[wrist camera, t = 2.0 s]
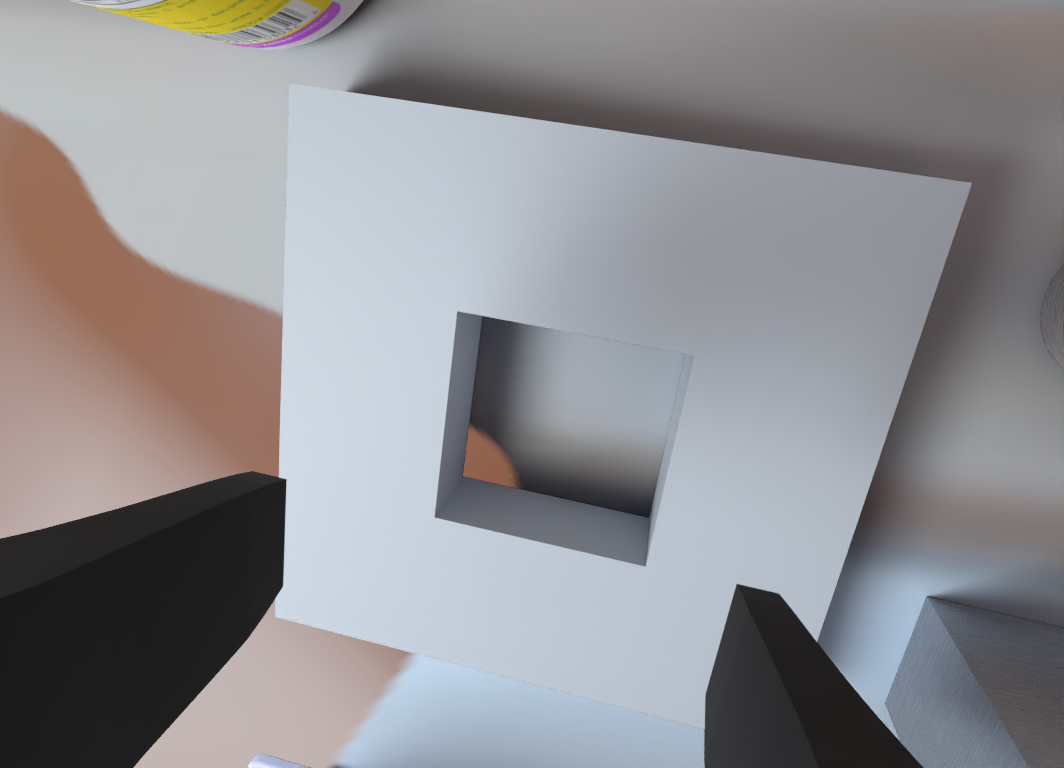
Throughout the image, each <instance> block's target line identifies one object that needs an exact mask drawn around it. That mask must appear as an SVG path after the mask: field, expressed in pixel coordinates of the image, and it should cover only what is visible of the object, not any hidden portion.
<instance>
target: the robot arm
mask: <svg viewBox="0 0 1064 768" xmlns="http://www.w3.org/2000/svg"><path fill="white" fill-rule="evenodd" d="M286 481H287V479H283V478H279V477H275V476H270V475H266V474H261V473H257V472H252V471H251V472H246V473H241V474H236V475H232V476H228V477H224V478H220V479H217V480H213V481H209V482H206V483H203V484H199V485H196V486H192V487H189V488H186V489H182V490H179V491H176V492H173V493H169V494H166V495H162V496H159V497H156V498H152V499H149V500H146V501H142V502H139V503H136V504H132V505H129V506H126V507H122V508H119V509H115V510H112V511H108V512H105V513H100V514H97V515H93V516H89V517H86V518H82V519H79V520H74V521H71V522H67V523H63V524H60V525H56V526H53V527H49V528H45V529H41V530H36V531H33V532H28V533H24V534H20V535H15V536H10V537H6V538H1V539H0V768H133V767H134V766H135V765H136V763H138V761H139V760H140V759H141V758H142V757H143V755H144V754H145V753H146V752H147V751H148V750H149V749H150V748H151V747H152V745H153V744H154V743H155V742H156V741H157V740H158V739H159V738H160V737H161V735H162V734H163V733H164V732H165V731H166V730H167V729H168V728H169V727H170V725H171V724H172V723H173V722H174V721H175V720H176V719H177V718H178V717H179V715H180V714H181V713H182V712H183V711H184V710H185V709H186V708H187V707H188V705H189V704H190V703H191V702H192V701H193V700H194V699H195V698H196V696H197V695H198V694H199V693H200V692H201V691H202V690H203V689H204V688H205V687H206V685H207V684H208V683H209V682H210V681H211V680H212V679H213V678H214V676H215V675H216V674H217V673H218V672H219V671H220V670H221V668H222V667H223V666H224V665H225V664H226V663H227V662H228V661H229V660H230V658H231V657H232V656H233V655H234V654H235V653H236V652H237V650H238V649H239V648H240V647H241V646H242V645H243V643H244V642H245V641H246V640H247V639H248V638H249V636H250V635H251V633H252V632H253V630H254V629H255V628H256V626H257V625H258V623H259V622H260V620H261V619H262V618H263V616H264V615H265V613H266V612H267V610H268V609H269V607H270V606H271V604H272V603H273V601H274V600H275V598H276V597H277V595H278V593H279V592H280V590H281V589H282V587H283V578H284V546H285V513H286ZM704 761H705V768H924V767H923V766H922V765H921V764H920V763H919V762H918V761H917V760H916V759H915V758H914V757H913V756H912V754H911V753H910V752H909V751H908V750H907V749H906V748H905V747H904V746H903V744H902V743H901V742H900V741H899V740H898V739H897V738H896V737H895V736H894V735H893V733H892V732H891V731H890V730H889V729H888V728H887V727H886V726H885V725H884V724H883V722H882V721H881V720H880V719H879V718H878V717H877V715H876V714H875V713H874V712H873V711H872V710H871V708H870V707H869V706H868V705H867V704H866V703H865V701H864V700H863V699H862V698H861V697H860V695H859V694H858V693H857V692H856V691H855V689H854V688H853V687H852V686H851V685H850V683H849V682H848V681H847V680H846V678H845V677H844V676H843V675H842V673H841V672H840V671H839V670H838V668H837V667H836V666H835V665H834V663H833V662H832V661H831V660H830V658H829V657H828V656H827V654H826V653H825V652H824V651H823V649H822V648H821V647H820V645H819V644H818V643H817V642H816V640H815V639H814V638H813V636H812V635H811V634H810V632H809V631H808V630H807V629H806V627H805V626H804V625H803V623H802V622H801V621H800V619H799V618H798V617H797V615H796V614H795V613H794V612H793V610H792V609H791V608H790V606H789V605H788V604H787V603H786V601H785V600H784V599H783V598H782V597H781V595H780V594H779V593H774V592H770V591H766V590H761V589H757V588H753V587H748V586H744V585H740V584H736V588H735V592H734V595H733V599H732V602H731V606H730V609H729V613H728V616H727V620H726V623H725V627H724V631H723V634H722V638H721V641H720V645H719V648H718V652H717V655H716V659H715V662H714V666H713V669H712V673H711V677H710V680H709V684H708V687H707V691H706V695H705V750H704ZM248 768H310V767H306V766H303V765H300V764H296V763H292V762H289V761H286V760H283V759H279V758H276V757H272V756H269V755H264V754H259V755H256V756H255V757H254V758H253V760H252V761H251V762H250V764H249V765H248Z"/></svg>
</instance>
